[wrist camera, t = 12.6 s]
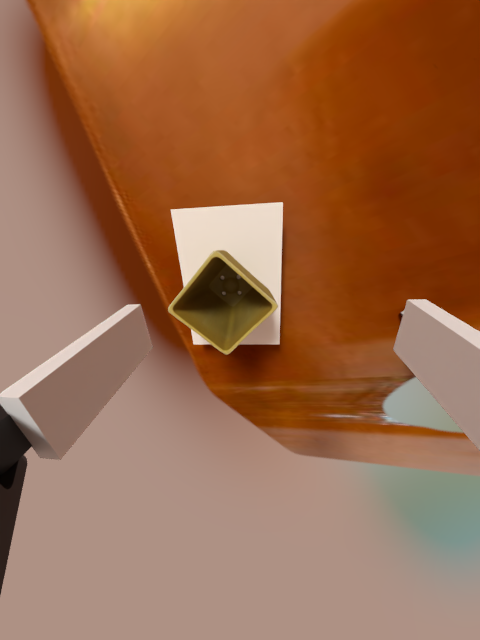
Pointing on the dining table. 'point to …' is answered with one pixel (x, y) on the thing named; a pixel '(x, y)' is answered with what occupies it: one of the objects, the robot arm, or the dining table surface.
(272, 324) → the display ledge
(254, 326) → the flower pot
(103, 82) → the dining table surface
